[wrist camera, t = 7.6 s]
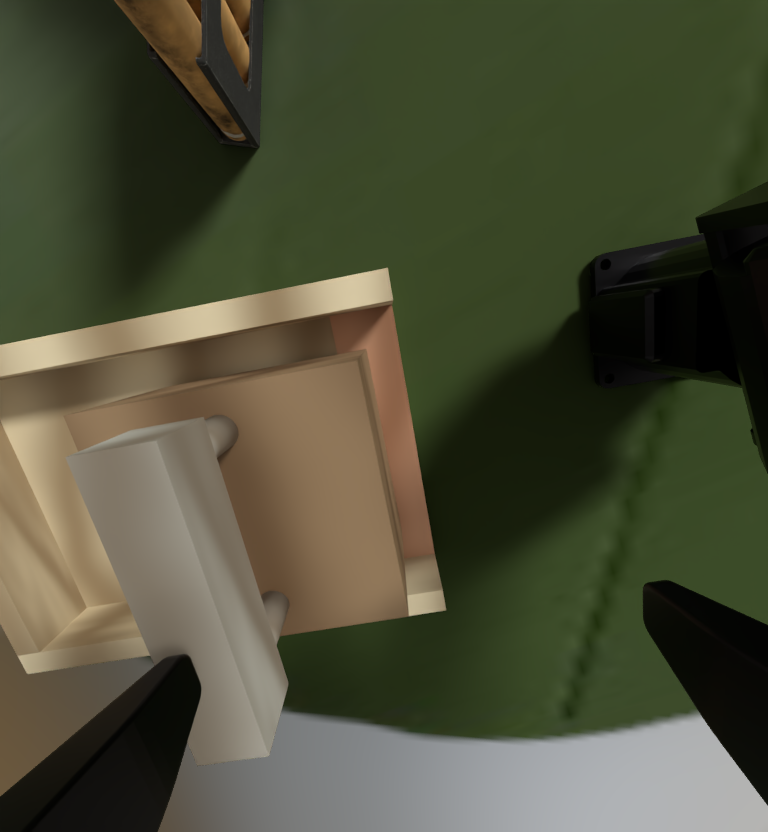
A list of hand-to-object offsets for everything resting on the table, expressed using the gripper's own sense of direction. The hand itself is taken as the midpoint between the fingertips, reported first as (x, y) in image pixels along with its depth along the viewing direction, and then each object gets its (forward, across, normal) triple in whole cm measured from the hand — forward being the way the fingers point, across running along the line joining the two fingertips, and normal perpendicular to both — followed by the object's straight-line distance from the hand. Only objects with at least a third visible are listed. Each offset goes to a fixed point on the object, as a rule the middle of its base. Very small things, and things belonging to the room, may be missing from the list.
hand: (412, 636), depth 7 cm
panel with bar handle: (+12, +6, 0) cm, 13 cm away
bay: (+13, +10, 0) cm, 16 cm away
